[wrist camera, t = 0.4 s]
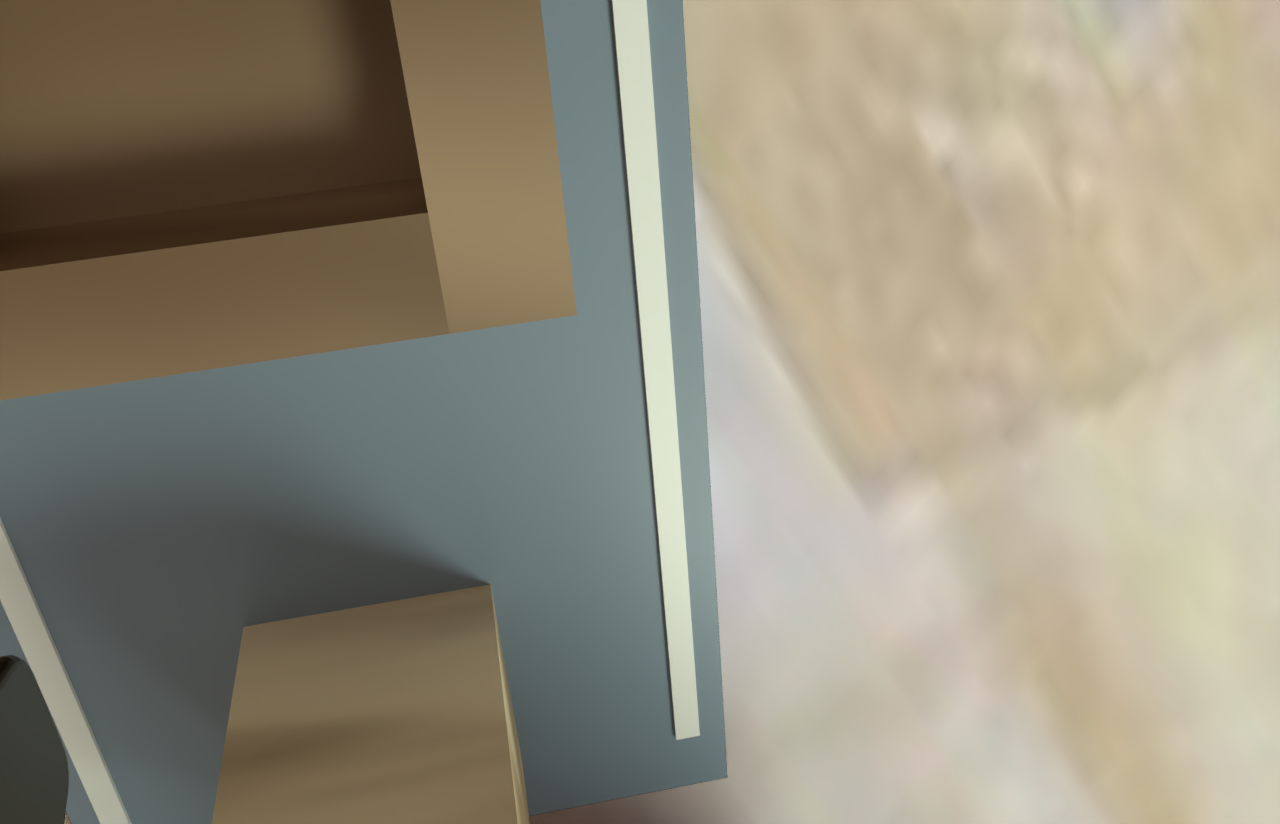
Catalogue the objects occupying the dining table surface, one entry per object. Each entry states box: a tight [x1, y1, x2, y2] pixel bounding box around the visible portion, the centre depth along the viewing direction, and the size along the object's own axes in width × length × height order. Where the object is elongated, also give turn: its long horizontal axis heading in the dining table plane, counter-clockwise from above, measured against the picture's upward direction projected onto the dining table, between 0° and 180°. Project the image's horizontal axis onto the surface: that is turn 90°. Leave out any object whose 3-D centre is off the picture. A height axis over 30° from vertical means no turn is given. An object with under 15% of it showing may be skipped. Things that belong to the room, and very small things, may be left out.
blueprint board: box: [0, 0, 727, 824], centre depth 20 cm, size 23×13×1 cm, turn 4°
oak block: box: [212, 584, 530, 824], centre depth 21 cm, size 4×4×6 cm
